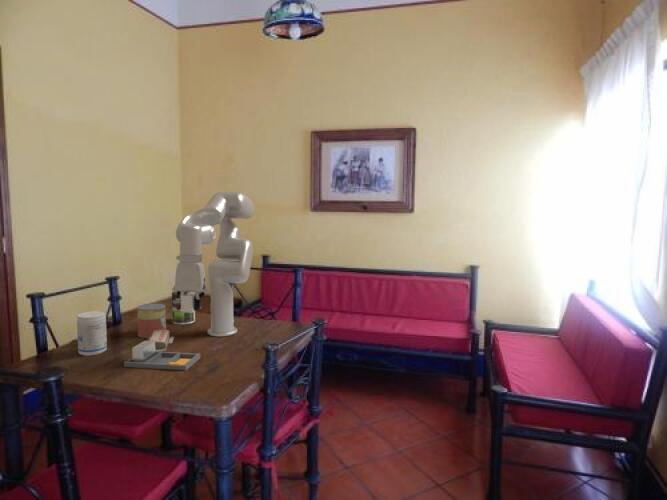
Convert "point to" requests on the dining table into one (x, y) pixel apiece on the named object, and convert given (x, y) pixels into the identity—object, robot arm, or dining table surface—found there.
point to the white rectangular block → (188, 302)
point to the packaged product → (160, 339)
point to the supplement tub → (91, 333)
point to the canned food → (150, 318)
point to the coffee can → (176, 311)
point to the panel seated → (143, 351)
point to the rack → (166, 361)
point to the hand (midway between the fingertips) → (191, 309)
